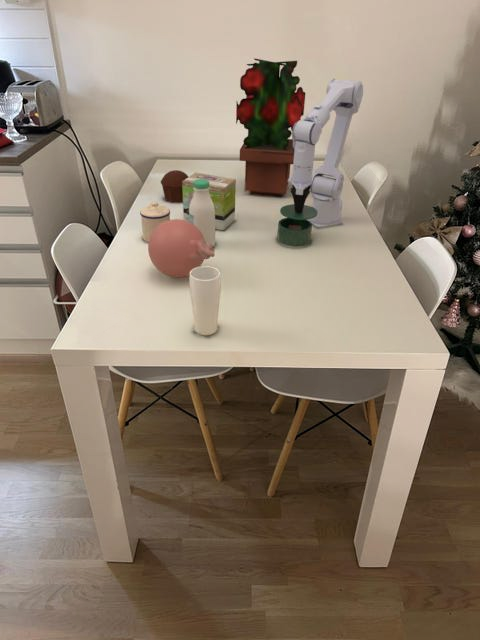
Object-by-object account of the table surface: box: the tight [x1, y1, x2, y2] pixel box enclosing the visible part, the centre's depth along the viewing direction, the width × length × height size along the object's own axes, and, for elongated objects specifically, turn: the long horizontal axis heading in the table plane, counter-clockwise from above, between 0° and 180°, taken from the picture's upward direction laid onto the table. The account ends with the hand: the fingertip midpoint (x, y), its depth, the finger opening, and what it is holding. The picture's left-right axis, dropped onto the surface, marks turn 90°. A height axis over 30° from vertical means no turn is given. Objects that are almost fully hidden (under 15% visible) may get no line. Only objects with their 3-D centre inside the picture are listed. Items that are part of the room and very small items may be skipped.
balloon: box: [147, 218, 215, 278], centre depth 130 cm, size 15×20×15 cm
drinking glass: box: [188, 265, 222, 336], centre depth 110 cm, size 7×7×15 cm
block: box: [288, 225, 302, 230], centre depth 154 cm, size 4×4×4 cm
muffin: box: [160, 169, 189, 204], centre depth 181 cm, size 12×11×10 cm
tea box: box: [182, 172, 237, 232], centre depth 162 cm, size 15×10×15 cm
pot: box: [276, 217, 313, 248], centre depth 153 cm, size 10×10×6 cm
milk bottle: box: [189, 179, 216, 248], centre depth 145 cm, size 8×8×20 cm
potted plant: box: [235, 58, 306, 198], centre depth 180 cm, size 22×22×45 cm
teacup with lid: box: [139, 201, 171, 243], centre depth 152 cm, size 12×9×12 cm
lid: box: [279, 203, 318, 220], centre depth 149 cm, size 11×11×4 cm
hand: (298, 209), depth 149 cm, fingers closed on lid, 2 cm apart
